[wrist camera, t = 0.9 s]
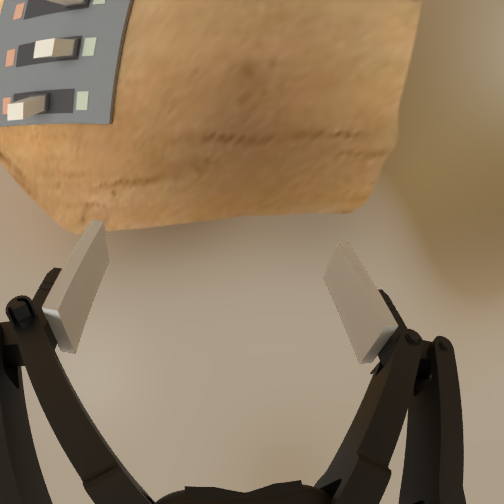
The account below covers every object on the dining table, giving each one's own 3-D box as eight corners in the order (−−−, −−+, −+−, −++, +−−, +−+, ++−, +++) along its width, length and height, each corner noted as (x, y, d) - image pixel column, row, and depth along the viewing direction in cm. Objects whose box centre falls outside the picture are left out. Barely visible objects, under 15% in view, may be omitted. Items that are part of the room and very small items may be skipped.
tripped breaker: (32, 94, 25) (6, 102, 20) (49, 93, 26) (24, 100, 21) (31, 111, 26) (6, 122, 22) (48, 111, 27) (24, 120, 22)
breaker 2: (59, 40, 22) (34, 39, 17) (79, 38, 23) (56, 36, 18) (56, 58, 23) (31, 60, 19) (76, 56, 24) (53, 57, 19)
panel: (8, -1, 16) (3, -1, 15) (140, -25, 20) (137, -27, 19) (-7, 125, 27) (-12, 128, 26) (112, 122, 31) (108, 124, 30)
